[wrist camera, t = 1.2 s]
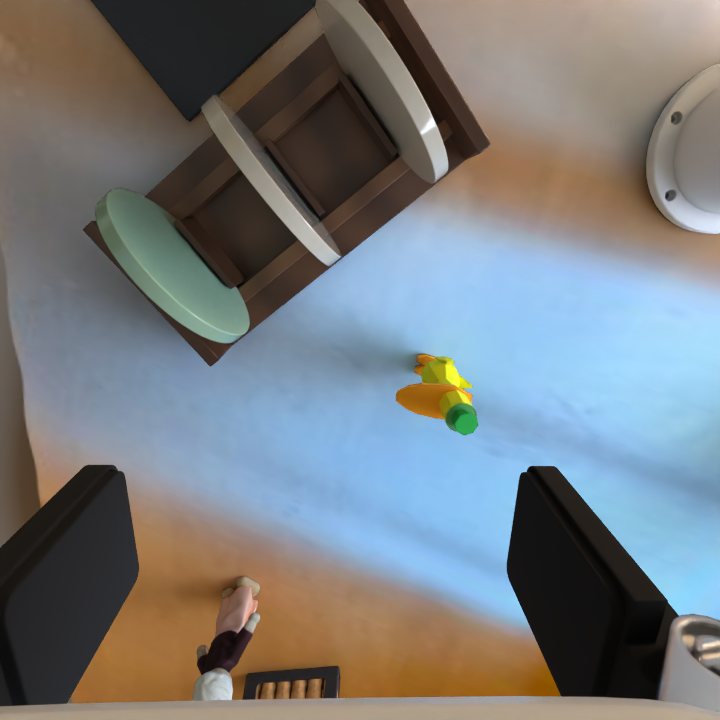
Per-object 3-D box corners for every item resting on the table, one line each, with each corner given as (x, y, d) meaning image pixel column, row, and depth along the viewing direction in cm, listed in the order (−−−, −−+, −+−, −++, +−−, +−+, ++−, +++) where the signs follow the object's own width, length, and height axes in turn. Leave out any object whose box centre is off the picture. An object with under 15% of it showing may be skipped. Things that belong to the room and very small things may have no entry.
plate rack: (372, -5, 32) (376, -44, 27) (472, 153, 36) (491, 144, 31) (117, 227, 37) (81, 229, 32) (227, 348, 40) (210, 367, 35)
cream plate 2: (332, 33, 32) (322, -66, 20) (430, 180, 35) (468, 164, 23) (321, 44, 32) (304, -50, 20) (419, 188, 35) (452, 177, 24)
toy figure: (384, 377, 41) (397, 440, 30) (391, 340, 40) (407, 391, 29) (457, 386, 42) (497, 452, 30) (465, 349, 41) (509, 403, 29)
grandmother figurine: (237, 619, 50) (202, 749, 38) (208, 602, 49) (162, 729, 37) (280, 576, 48) (256, 697, 36) (250, 557, 47) (216, 675, 35)
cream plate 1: (241, 116, 33) (184, 66, 22) (343, 249, 36) (339, 266, 25) (231, 125, 33) (169, 80, 22) (333, 257, 36) (325, 277, 25)
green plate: (159, 191, 35) (64, 182, 23) (263, 313, 38) (225, 357, 26) (149, 200, 35) (51, 194, 23) (254, 320, 38) (212, 367, 27)
